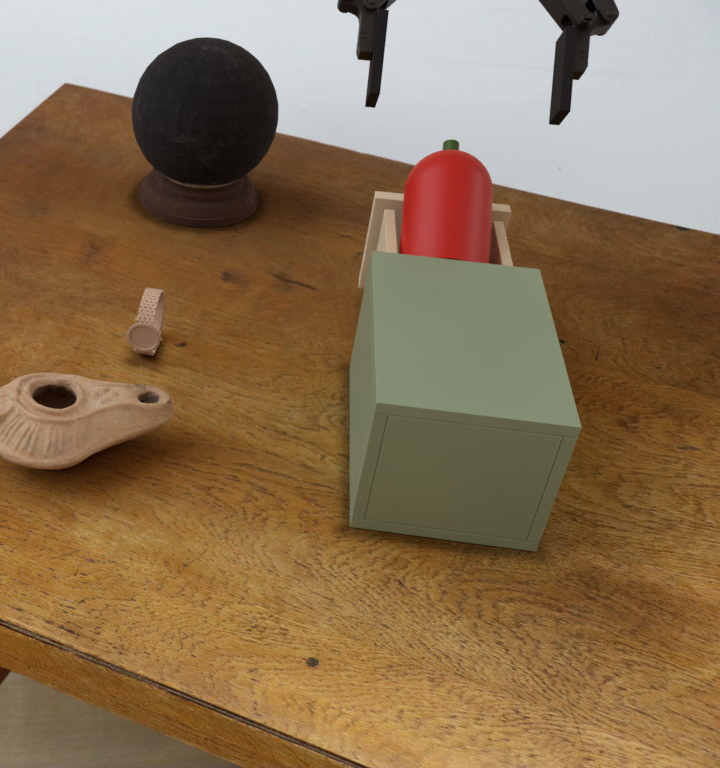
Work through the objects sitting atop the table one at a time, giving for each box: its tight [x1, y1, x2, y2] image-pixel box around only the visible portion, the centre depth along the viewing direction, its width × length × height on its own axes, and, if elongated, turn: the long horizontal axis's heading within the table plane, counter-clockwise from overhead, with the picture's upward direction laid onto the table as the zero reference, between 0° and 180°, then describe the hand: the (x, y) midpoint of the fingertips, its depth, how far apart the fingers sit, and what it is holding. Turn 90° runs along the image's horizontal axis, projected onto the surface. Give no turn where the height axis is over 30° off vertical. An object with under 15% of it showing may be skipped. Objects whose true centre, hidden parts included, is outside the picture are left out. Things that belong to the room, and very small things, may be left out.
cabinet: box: [349, 251, 582, 553], centre depth 74 cm, size 18×12×10 cm, turn 172°
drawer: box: [358, 190, 514, 289], centre depth 85 cm, size 22×10×8 cm, turn 172°
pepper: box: [399, 139, 494, 263], centre depth 82 cm, size 6×6×11 cm
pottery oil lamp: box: [0, 372, 175, 471], centre depth 73 cm, size 9×12×7 cm
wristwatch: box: [126, 287, 167, 356], centre depth 83 cm, size 3×5×5 cm, turn 167°
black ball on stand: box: [131, 36, 279, 229], centre depth 100 cm, size 13×13×15 cm
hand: (465, 109), depth 82 cm, fingers open, 13 cm apart
